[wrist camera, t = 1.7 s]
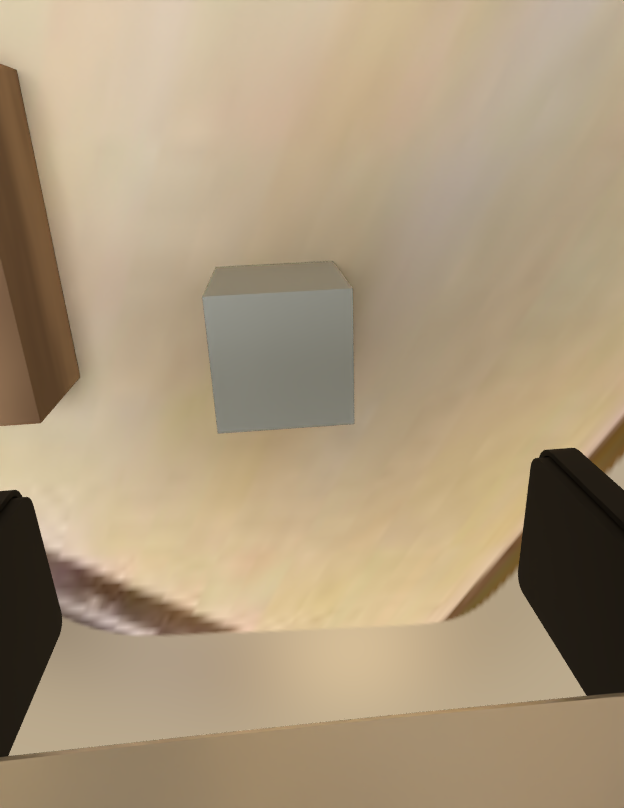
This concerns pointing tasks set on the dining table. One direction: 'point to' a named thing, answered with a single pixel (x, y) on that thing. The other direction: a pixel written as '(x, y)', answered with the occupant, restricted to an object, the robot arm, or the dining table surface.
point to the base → (28, 279)
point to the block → (280, 346)
